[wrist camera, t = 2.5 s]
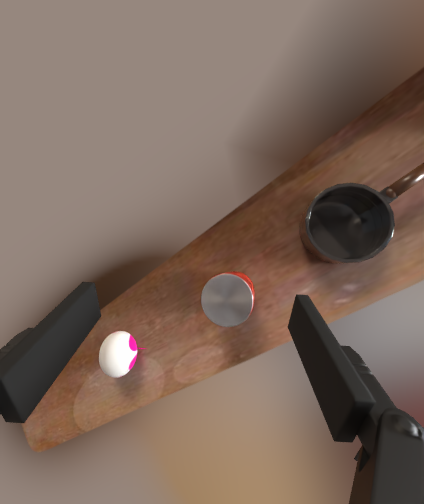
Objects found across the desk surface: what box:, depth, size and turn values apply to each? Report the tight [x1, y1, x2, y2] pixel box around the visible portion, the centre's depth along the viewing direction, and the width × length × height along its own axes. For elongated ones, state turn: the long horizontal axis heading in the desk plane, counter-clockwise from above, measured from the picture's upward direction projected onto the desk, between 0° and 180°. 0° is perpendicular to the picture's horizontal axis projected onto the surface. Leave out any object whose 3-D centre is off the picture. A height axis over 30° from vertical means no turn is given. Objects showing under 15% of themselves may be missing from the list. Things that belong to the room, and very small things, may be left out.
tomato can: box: [201, 271, 254, 327], centre depth 32 cm, size 7×7×12 cm
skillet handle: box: [379, 163, 424, 203], centre depth 30 cm, size 8×2×2 cm, turn 125°
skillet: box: [299, 183, 395, 263], centre depth 33 cm, size 11×11×4 cm
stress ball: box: [99, 331, 145, 377], centre depth 39 cm, size 8×8×7 cm
